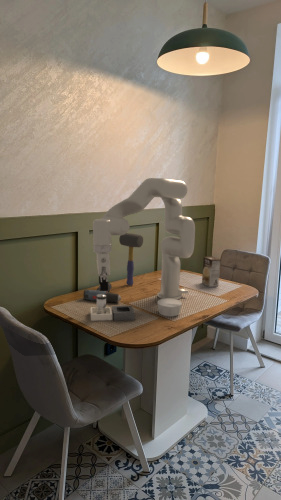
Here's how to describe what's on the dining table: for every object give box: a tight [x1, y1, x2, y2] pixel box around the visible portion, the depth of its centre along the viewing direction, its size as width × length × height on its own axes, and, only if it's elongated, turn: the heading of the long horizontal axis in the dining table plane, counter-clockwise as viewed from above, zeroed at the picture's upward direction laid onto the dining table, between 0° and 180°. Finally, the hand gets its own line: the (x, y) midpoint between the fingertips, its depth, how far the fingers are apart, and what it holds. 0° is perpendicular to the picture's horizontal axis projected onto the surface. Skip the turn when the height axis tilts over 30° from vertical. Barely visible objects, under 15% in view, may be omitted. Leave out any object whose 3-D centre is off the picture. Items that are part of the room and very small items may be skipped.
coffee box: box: [201, 256, 221, 288], centre depth 211 cm, size 9×6×16 cm
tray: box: [89, 306, 113, 322], centre depth 156 cm, size 9×9×3 cm
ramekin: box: [156, 298, 183, 317], centre depth 163 cm, size 11×11×5 cm
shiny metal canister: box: [96, 294, 107, 314], centre depth 155 cm, size 4×4×9 cm
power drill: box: [82, 281, 122, 303], centre depth 183 cm, size 5×19×20 cm
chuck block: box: [111, 305, 136, 322], centre depth 157 cm, size 9×9×3 cm
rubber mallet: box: [119, 232, 144, 287], centre depth 201 cm, size 12×8×30 cm, turn 58°
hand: (103, 287), depth 154 cm, fingers open, 9 cm apart
